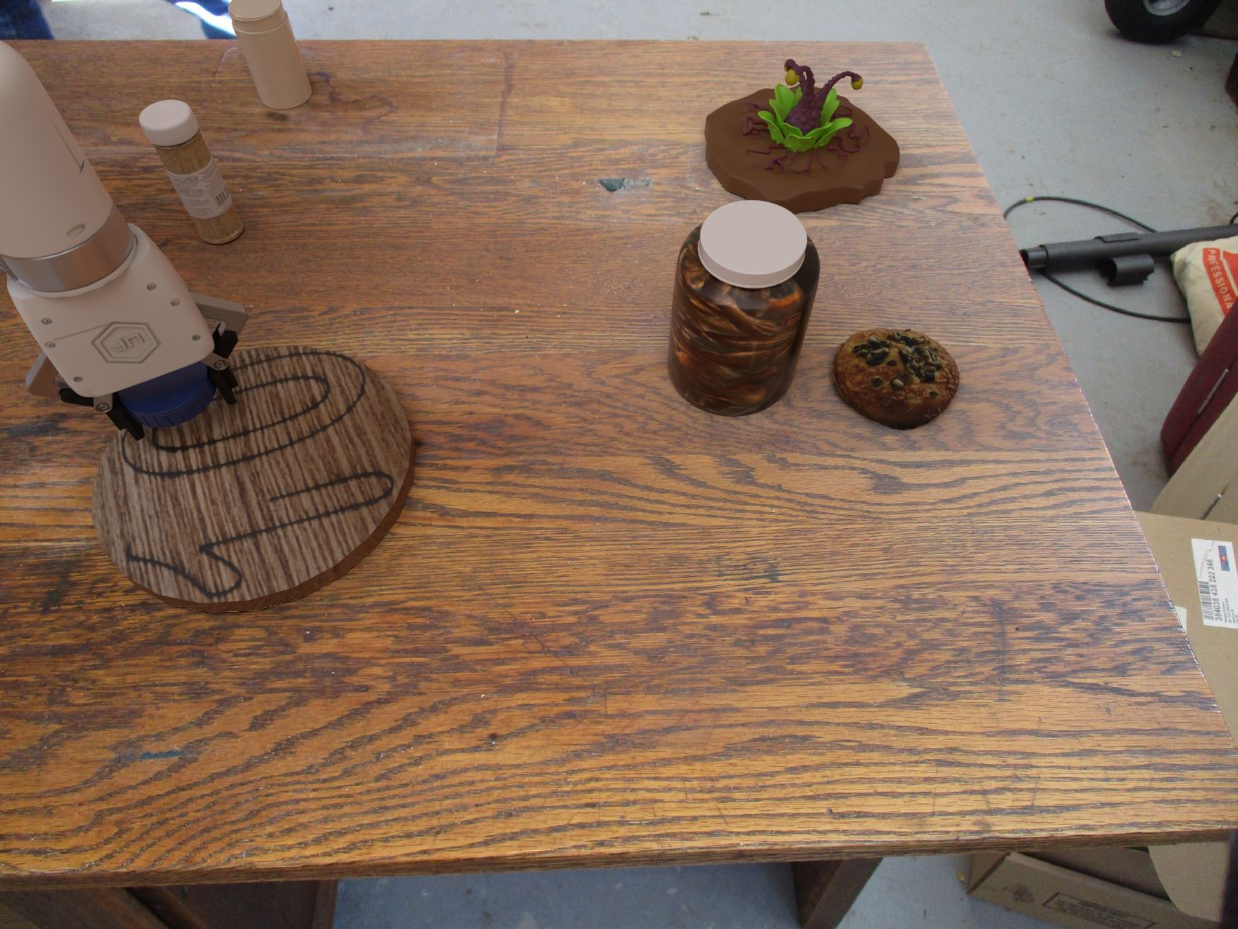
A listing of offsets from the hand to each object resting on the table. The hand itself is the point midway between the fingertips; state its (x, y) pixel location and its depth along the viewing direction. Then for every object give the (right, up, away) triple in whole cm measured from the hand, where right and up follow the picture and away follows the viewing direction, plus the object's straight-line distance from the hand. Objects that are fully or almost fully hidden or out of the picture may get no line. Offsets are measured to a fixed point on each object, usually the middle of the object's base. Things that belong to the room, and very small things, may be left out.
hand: (183, 408), depth 69 cm
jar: (+46, +4, +7) cm, 47 cm away
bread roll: (+61, +3, +6) cm, 61 cm away
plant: (+55, +29, +24) cm, 67 cm away
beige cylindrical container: (-3, +39, +30) cm, 50 cm away
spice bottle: (-5, +19, +17) cm, 26 cm away
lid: (0, +2, -3) cm, 3 cm away
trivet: (+7, -6, 0) cm, 9 cm away
